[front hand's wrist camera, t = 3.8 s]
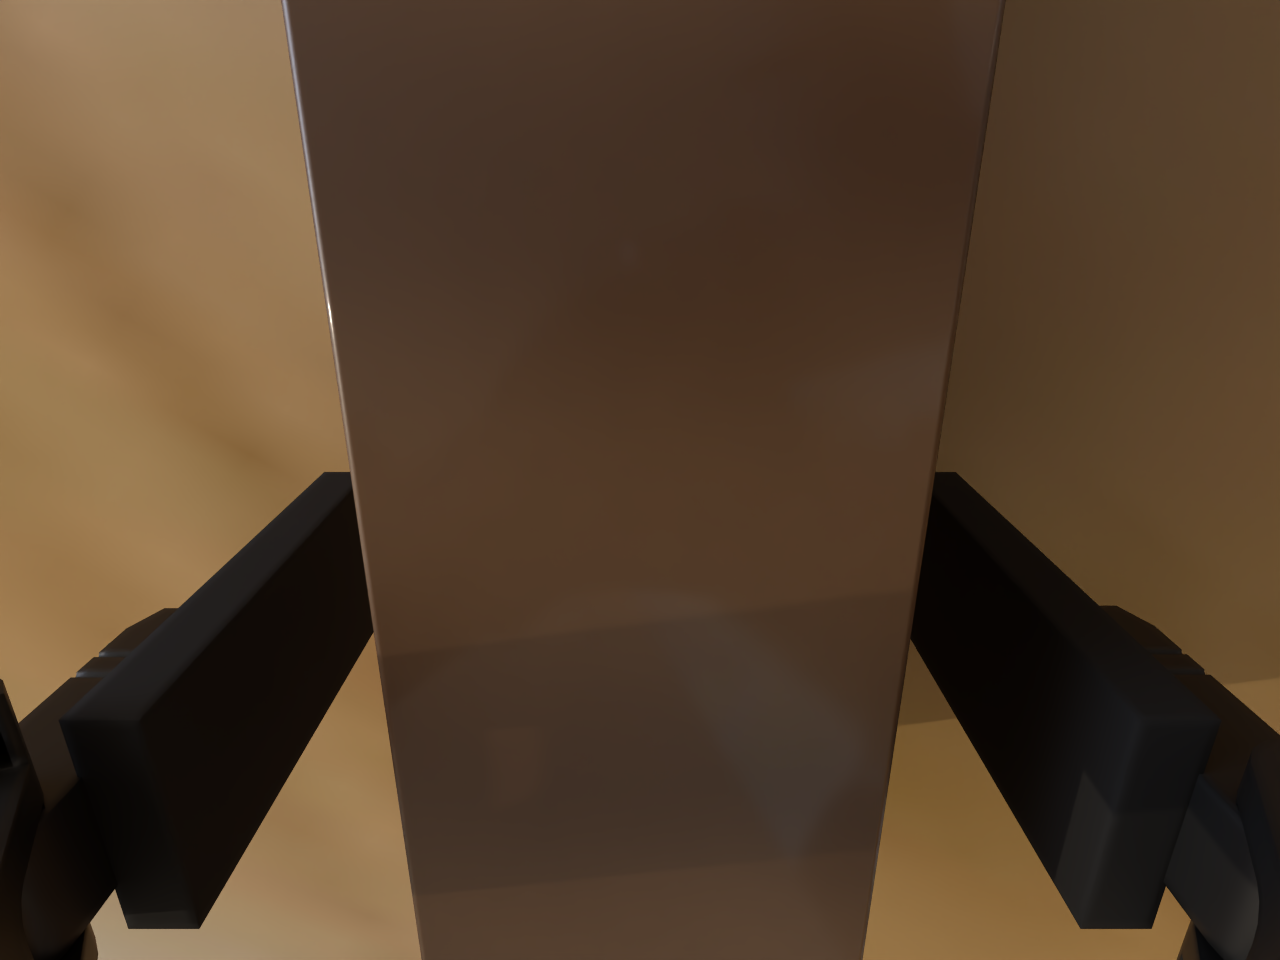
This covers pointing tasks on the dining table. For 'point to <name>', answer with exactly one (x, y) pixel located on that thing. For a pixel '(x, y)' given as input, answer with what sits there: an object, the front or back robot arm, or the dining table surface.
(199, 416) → the dining table surface
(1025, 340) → the dining table surface
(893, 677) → the bar
